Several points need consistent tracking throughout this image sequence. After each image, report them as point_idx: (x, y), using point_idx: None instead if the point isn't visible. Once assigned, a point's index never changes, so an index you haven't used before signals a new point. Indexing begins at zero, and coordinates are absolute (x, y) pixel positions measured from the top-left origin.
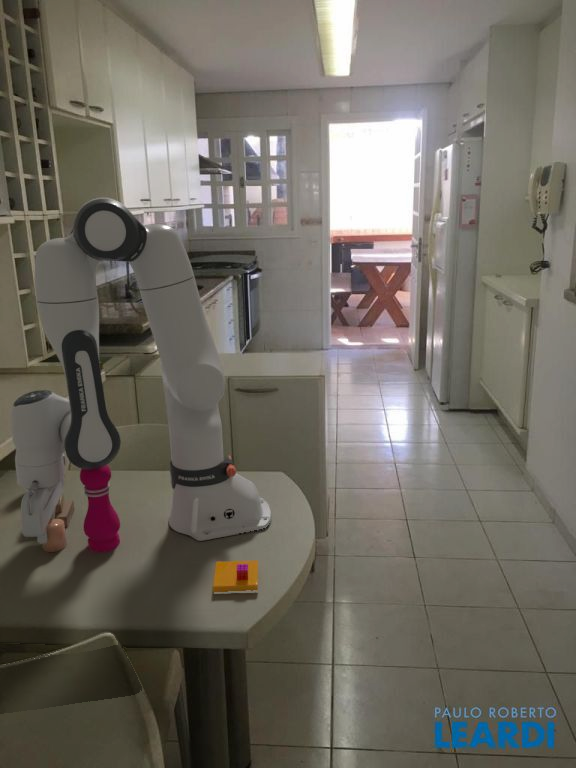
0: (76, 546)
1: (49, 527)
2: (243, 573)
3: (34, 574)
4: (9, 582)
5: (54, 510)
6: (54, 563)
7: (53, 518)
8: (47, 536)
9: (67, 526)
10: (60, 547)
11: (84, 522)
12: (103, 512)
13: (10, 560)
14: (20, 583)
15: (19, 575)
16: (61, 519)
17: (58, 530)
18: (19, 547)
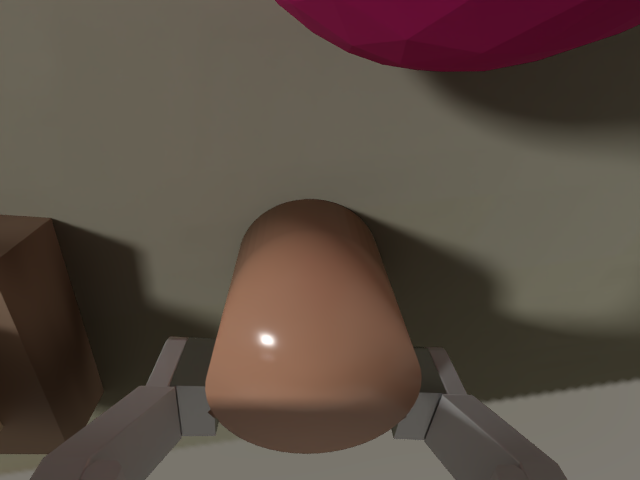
0: (354, 131)
1: (368, 401)
2: None
3: (563, 313)
4: (564, 384)
5: (103, 450)
6: (510, 242)
7: (174, 391)
8: (429, 369)
9: (48, 221)
10: (370, 235)
11: (569, 48)
12: None
13: None
14: (601, 350)
15: (531, 363)
16: (21, 287)
17: (402, 324)
18: None
